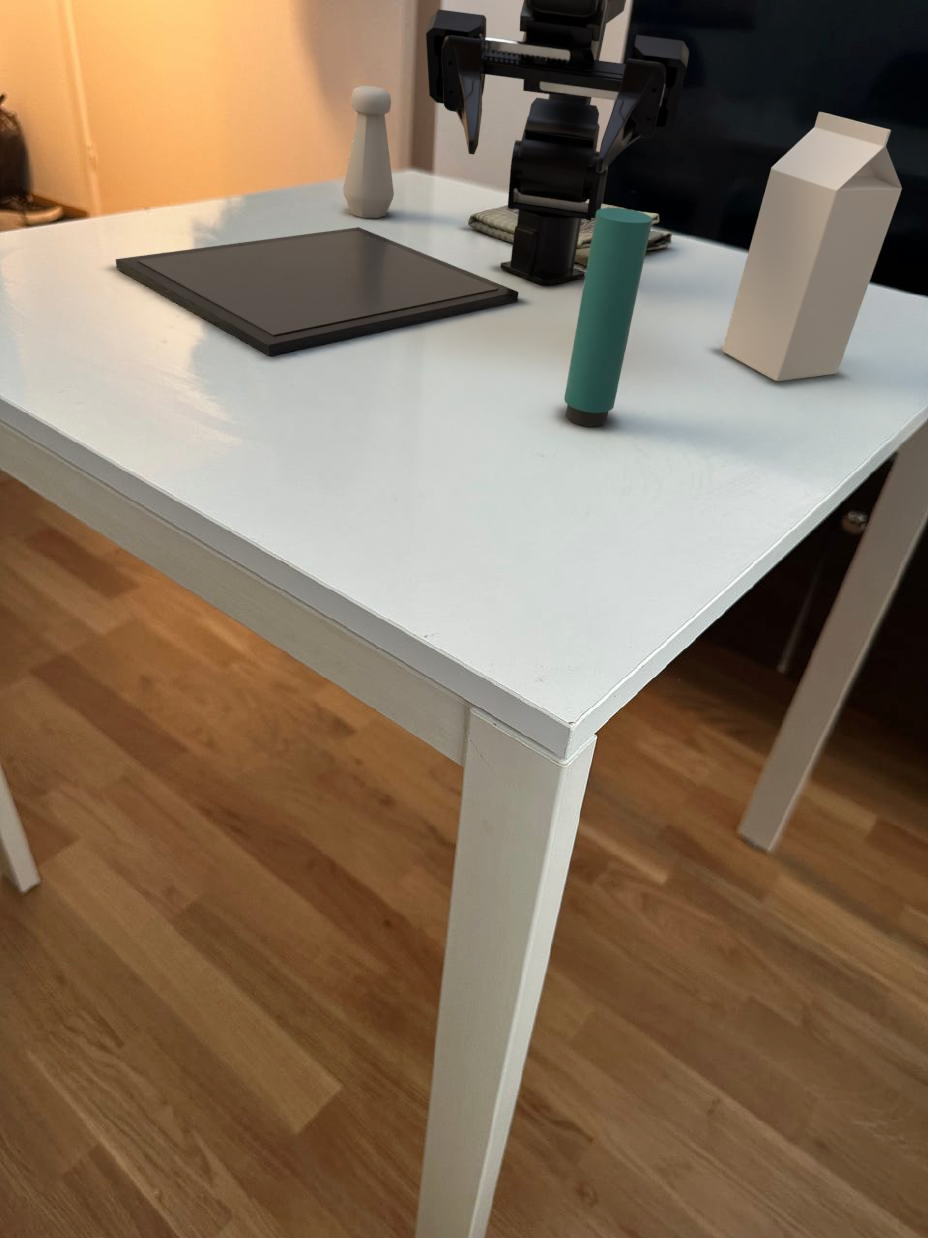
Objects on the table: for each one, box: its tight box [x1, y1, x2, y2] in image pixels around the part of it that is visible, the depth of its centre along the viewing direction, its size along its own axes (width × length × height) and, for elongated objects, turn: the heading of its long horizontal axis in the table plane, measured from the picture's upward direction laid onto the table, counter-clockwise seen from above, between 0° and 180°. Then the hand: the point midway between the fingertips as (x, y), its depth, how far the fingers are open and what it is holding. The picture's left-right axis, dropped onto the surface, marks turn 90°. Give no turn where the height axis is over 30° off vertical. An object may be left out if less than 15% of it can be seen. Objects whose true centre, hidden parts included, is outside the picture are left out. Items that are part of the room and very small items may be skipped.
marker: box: [563, 207, 652, 428], centre depth 63 cm, size 4×4×14 cm
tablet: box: [115, 226, 520, 357], centre depth 85 cm, size 28×24×1 cm
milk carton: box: [721, 111, 903, 382], centre depth 75 cm, size 7×7×19 cm
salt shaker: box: [342, 85, 395, 219], centre depth 105 cm, size 6×6×13 cm
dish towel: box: [467, 199, 673, 267], centre depth 107 cm, size 19×18×3 cm
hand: (535, 157), depth 65 cm, fingers open, 9 cm apart
